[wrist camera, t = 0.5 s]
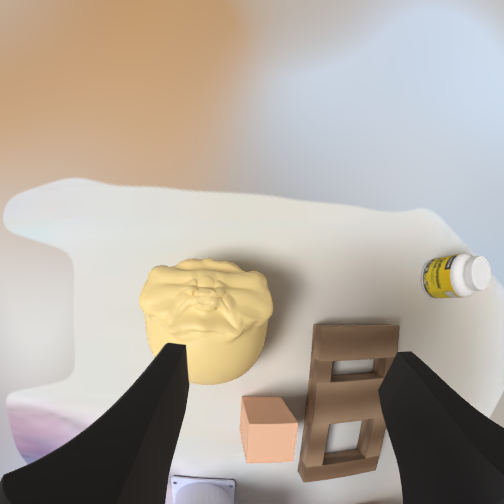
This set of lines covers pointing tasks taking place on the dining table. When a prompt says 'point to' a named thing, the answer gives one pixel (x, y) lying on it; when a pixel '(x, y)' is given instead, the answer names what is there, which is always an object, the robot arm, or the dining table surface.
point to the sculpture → (208, 316)
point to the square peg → (267, 430)
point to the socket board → (345, 398)
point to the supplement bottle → (455, 276)
